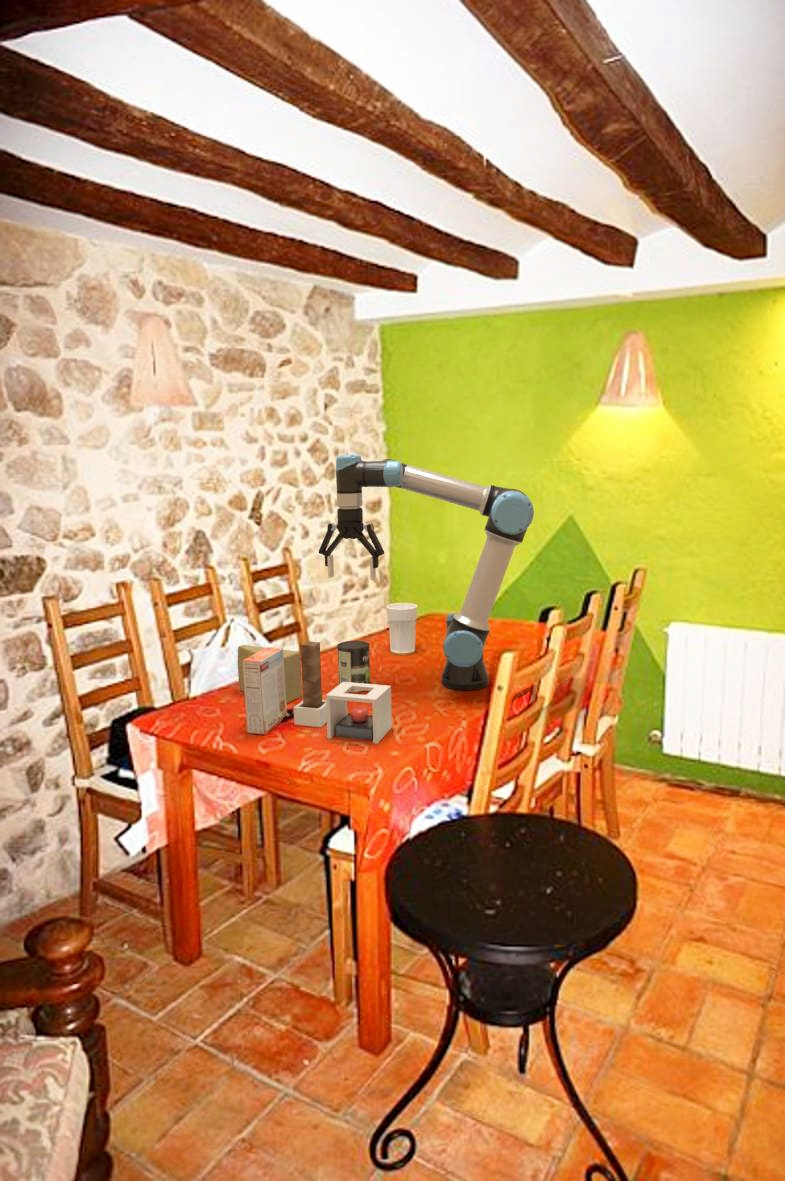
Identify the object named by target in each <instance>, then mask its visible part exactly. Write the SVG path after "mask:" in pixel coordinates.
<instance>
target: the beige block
mask: <svg viewBox="0 0 785 1181" xmlns="http://www.w3.org/2000/svg"><path fill="white" fill-rule="evenodd" d="M264 648H265V647H262V646H255V645H250V644H241V645H239V646H237V676H238V689H239V691H241V692H243V693H244V679H243V666H242V661H243V660H244V659H246V658H248V657H250V656H252V655H253V654H255V653H257V652H259V651H260V650H262V649H264ZM283 656H284V672H285V689H286V704H288V703H290V702H292V701H295V700H298V699H300V698H301V697H303V687H302V664H301V651H298V650H297V651H296V650H290V649H283Z"/></svg>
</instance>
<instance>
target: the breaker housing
mask: <svg viewBox="0 0 785 1181" xmlns="http://www.w3.org/2000/svg"><path fill="white" fill-rule="evenodd" d="M363 722H364V723H358V722H356V721H352V720H351V712H350V713H347V715H346V716H345V717H344V718H343V719H342V720H341V721H340V722H338V723H337V724H336V734H335V735H336V738H341V739H343V738H344V739H351V740H361V741H370V742H373V715H369V714H368V720H366V721H363Z"/></svg>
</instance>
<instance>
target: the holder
mask: <svg viewBox="0 0 785 1181" xmlns="http://www.w3.org/2000/svg"><path fill="white" fill-rule="evenodd" d="M293 720H294V721H293V723H294V725H296V726H303V727H315V728H322V727H323V726H324V725H325V724H327V712H326V699H322V706H321V707H320V708H307V707H303V700H301V701H300V702H299V703H297V704H296V705H295V706H294V707H293Z"/></svg>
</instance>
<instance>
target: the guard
mask: <svg viewBox="0 0 785 1181" xmlns="http://www.w3.org/2000/svg"><path fill="white" fill-rule="evenodd" d="M352 689H354V690H365V691H368V693H367V694H357V693H350V692H349V691H351V690H352ZM325 700H326V712H327V722H326V734H327V739H332V738H334V737H335V735H337V734H336V724H337V723H338V722H340V721H341V720H342V719H343V718H344V717H345V716H346V715H347V714H348V702H356V703H357V702H359V703H369V704H372V716H373V740H372V743H373V744H377V745H378V743H379V742H380V741H381V740H382V739H383V738H384V737H385V736H386V734H388V733H389V732H390V730H391V729H392V723H393V721H392V720H393V719H392V685H385V684H384V685H383V684H373V683H370V684H364V683H352V682H342V683H341V684H339V683H338V685H337V686H335V688H333V689H332V690H331V691H329V692H328V693H327V694H325Z"/></svg>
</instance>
